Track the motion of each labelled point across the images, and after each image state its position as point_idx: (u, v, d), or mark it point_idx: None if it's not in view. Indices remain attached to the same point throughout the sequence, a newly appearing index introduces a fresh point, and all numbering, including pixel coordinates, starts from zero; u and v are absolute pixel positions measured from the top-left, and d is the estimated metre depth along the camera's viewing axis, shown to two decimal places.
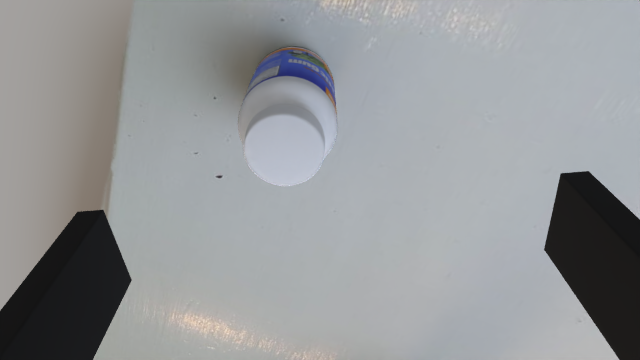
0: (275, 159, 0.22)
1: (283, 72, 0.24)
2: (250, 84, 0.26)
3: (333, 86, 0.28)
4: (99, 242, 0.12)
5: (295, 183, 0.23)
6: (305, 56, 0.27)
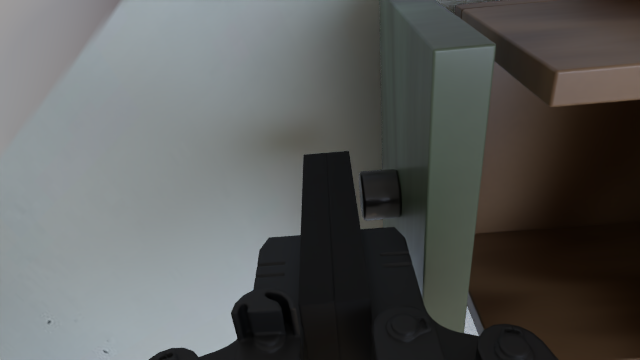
0: None
1: None
2: None
3: None
4: None
5: None
6: None
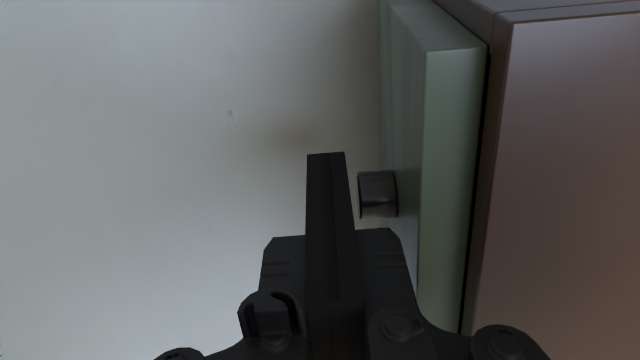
0: None
1: None
2: None
3: None
4: None
5: None
6: None
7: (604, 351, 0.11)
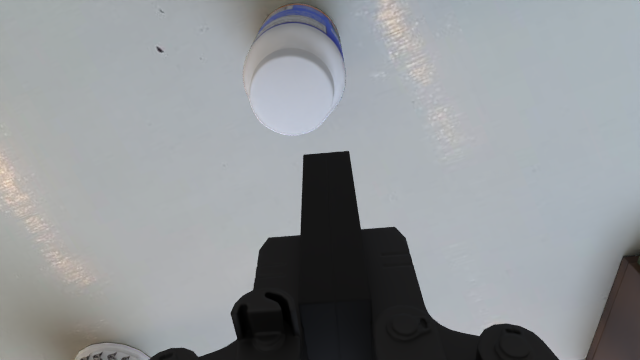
0: (279, 96, 0.21)
1: (330, 36, 0.23)
2: (290, 15, 0.24)
3: None
4: None
5: (271, 128, 0.22)
6: (339, 37, 0.27)
7: None
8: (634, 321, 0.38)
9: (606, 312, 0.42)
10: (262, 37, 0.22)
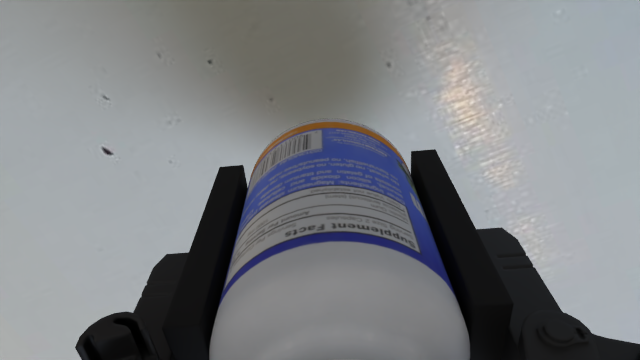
0: None
1: (428, 253, 0.09)
2: (323, 187, 0.10)
3: None
4: (243, 193, 0.14)
5: None
6: (418, 196, 0.13)
7: None
8: None
9: None
10: (256, 292, 0.08)
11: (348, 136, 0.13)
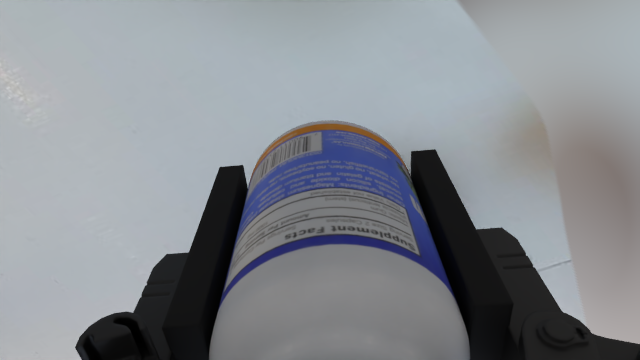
0: None
1: (428, 255, 0.09)
2: (322, 190, 0.10)
3: None
4: (243, 192, 0.14)
5: None
6: (417, 197, 0.13)
7: None
8: None
9: None
10: (256, 295, 0.08)
11: (348, 138, 0.13)
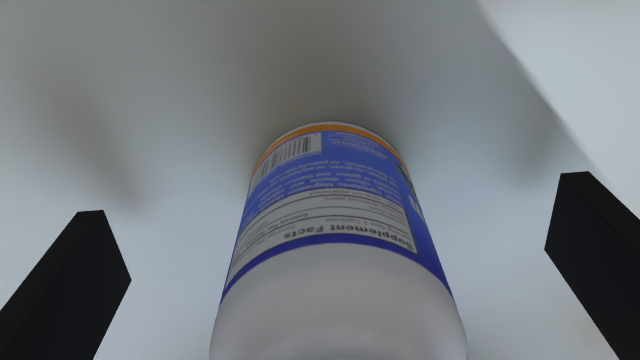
0: None
1: (425, 254, 0.09)
2: (322, 190, 0.10)
3: None
4: (99, 242, 0.12)
5: None
6: None
7: None
8: None
9: None
10: (256, 293, 0.08)
11: (347, 139, 0.13)
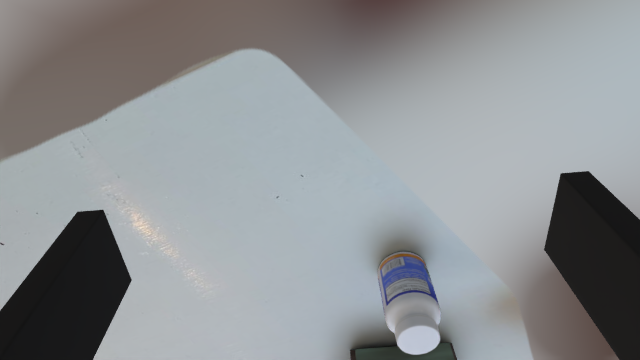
0: (412, 340, 0.41)
1: (432, 293, 0.44)
2: (408, 278, 0.44)
3: None
4: (99, 242, 0.13)
5: (406, 352, 0.42)
6: (429, 275, 0.47)
7: None
8: None
9: None
10: (399, 302, 0.42)
11: (410, 259, 0.47)
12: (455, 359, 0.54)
